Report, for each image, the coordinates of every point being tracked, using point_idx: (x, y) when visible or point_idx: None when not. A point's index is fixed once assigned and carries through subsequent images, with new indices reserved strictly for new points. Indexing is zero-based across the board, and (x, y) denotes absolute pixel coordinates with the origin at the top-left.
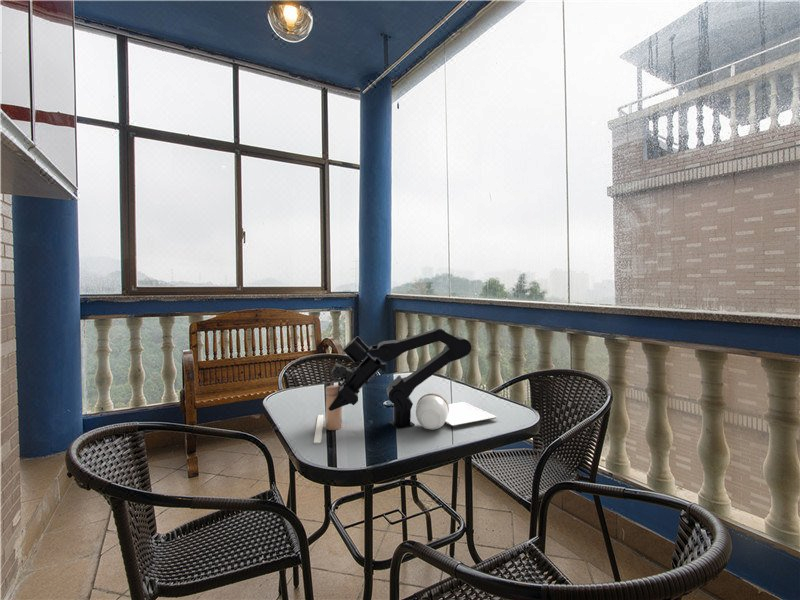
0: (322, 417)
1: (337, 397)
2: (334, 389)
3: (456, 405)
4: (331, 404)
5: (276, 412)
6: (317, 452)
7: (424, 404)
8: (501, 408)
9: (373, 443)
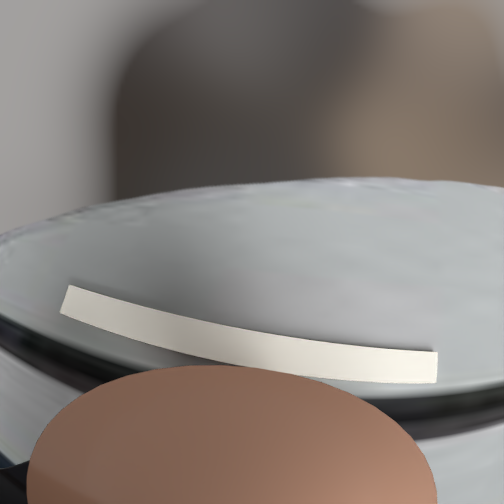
0: (399, 376)
1: (22, 466)
2: (30, 498)
3: None
4: None
5: (463, 194)
6: (14, 284)
7: None
8: None
9: None
